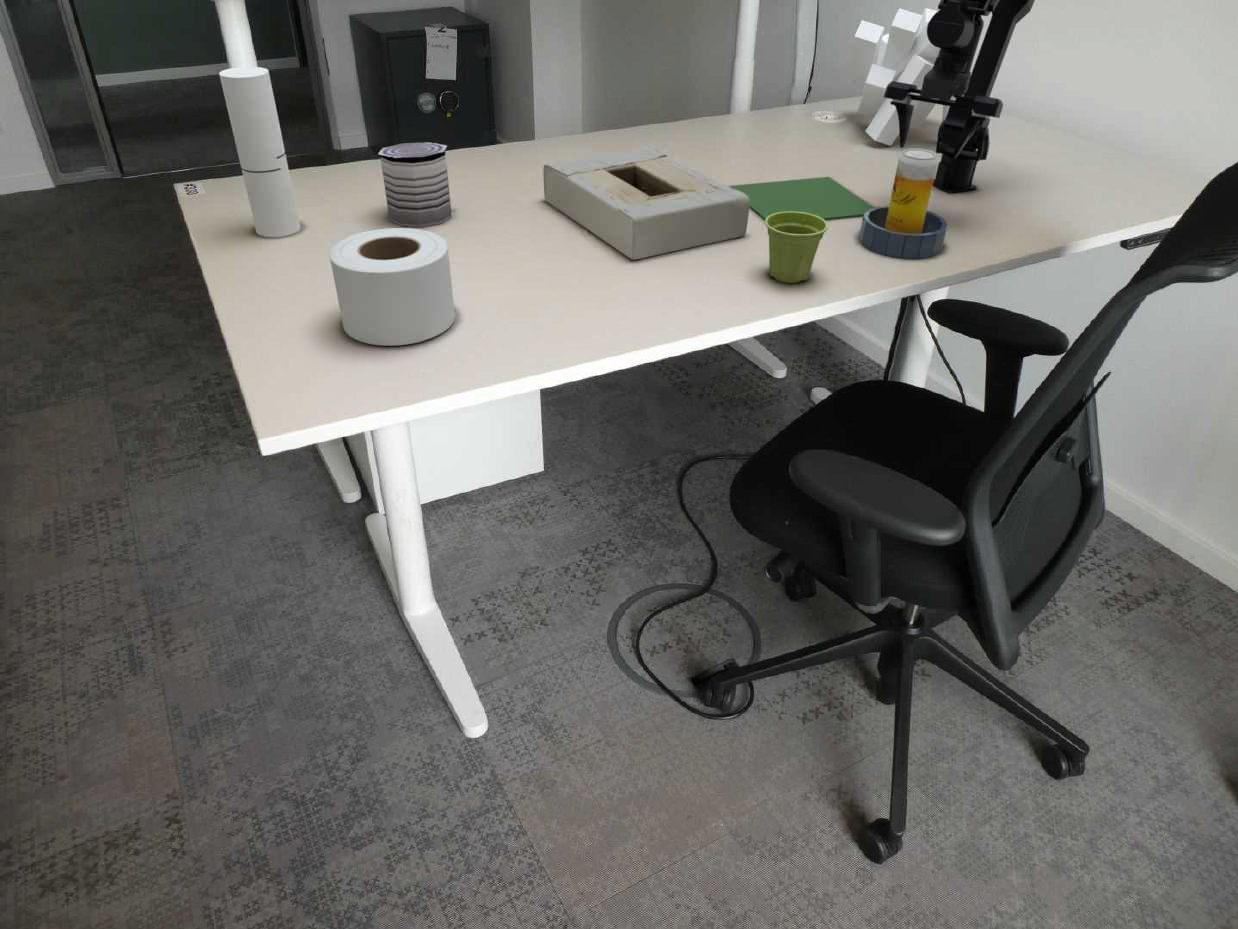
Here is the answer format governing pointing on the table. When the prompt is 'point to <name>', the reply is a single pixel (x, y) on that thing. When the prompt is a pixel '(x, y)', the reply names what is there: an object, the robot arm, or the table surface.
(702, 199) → the box
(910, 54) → the pile of blocks
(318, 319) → the table surface
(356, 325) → the tape roll
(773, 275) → the plant pot
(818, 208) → the green cloth
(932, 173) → the beer can
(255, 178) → the cylindrical container
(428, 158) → the can
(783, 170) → the table surface
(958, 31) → the robot arm
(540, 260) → the table surface
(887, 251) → the blue round tray
